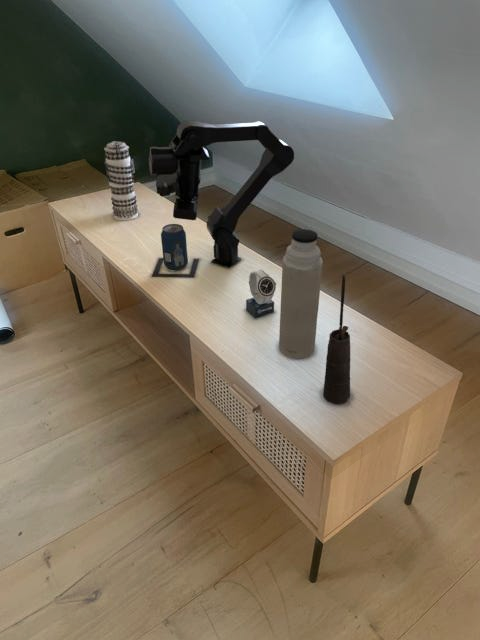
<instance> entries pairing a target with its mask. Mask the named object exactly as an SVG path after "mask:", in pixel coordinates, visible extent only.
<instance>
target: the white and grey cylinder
mask: <svg viewBox="0 0 480 640" xmlns="http://www.w3.org/2000/svg"><path fill="white" fill-rule="evenodd" d="M129 149H130V146H128V145H127V144H126V142H124V141H119V140H116V141H111V142H108V143H107V144H106V146H105V147H104V148H103V150H104V154H105V160H104V162H103V164H104V166H105V167H104V169H105V170H106V173H105V174H106V175H107V177H106V178H107V180H108V181H107V182H108V185H109V187H110V191H111V192H110V196H111V197H110V200H111V205H112V207H111V208H112V210H113V211H112V213H113V218H114V219H116V220H118V221H130V220H131V221H132V220H134V219H136V218H138V216H139V213H138V212H139V209H138V205H137V202H138V201H137V199H136V198H137V195H136V191H135V189H134V184H135V183H134V182H135V179H134V177H135V175H134V174H132V173H134V169H133V168H134V165H133V164H131V161H132V158H131V156H130V152H129Z"/></svg>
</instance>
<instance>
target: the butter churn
mask: <svg viewBox="0 0 480 640" xmlns="http://www.w3.org/2000/svg"><path fill="white" fill-rule="evenodd" d="M345 292H346V275H345V274H342V277H341V294H340V309H339V324H338V325H339V327H338V329H334V330H332V331H331V332H330V333H329V339H328V343H327V351H326V352H327V353H326V359H325V371H324V381H323V391H322V396H323V398H324V400H325V401H326V402H328V403H330V404H333V405H342V404H343V405H344V404H346V403H347V402H348V400H349V399H350V398H351V335H350V334H349V331H348V330H349V326H347V325H343V323H344V304H345V294H346V293H345Z"/></svg>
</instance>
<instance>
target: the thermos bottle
mask: <svg viewBox="0 0 480 640" xmlns="http://www.w3.org/2000/svg"><path fill="white" fill-rule="evenodd" d="M291 238H292V239H291V244H290V245H288V246H287V248H286V251H285V255H284V256H283V257H282V266H281V267H282V270H281V291H280V314H279V315H280V316H279V337H278V350H279V351H280V353H281V354H282V355H283V356H285V357H287V358H289V359H293V360H294V359H295V360H302V359H307V358H309V357H311V356H312V355H313V354H314V352H315V348H316V337H317V336H316V335H317V325H318V315H319V305H320V297H321V296H320V294H321V284H322V274H323V273H322V272H323V264H324V263H323V262H324V260H323V258H322V257H321V255H322V252H321V249H320V248H319V246H317V240H318V233H317V232H316V231H315V230H312V229H307V228H305V229H303V228H302V229H296V230H294V231H293V232H292V233H291Z"/></svg>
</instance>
